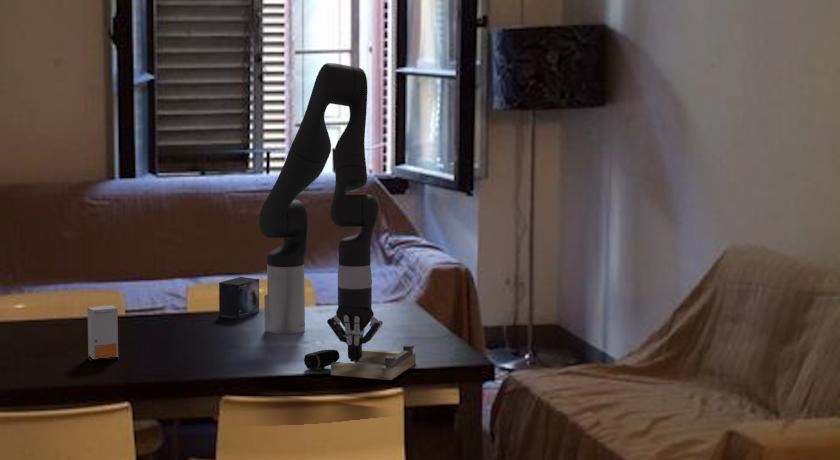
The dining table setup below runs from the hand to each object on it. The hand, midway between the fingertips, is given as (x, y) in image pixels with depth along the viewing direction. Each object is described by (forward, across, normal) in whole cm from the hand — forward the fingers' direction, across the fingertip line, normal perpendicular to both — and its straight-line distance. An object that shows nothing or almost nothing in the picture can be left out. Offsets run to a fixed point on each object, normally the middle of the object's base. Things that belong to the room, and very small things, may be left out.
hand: (355, 360), depth 289 cm
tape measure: (+1, -4, -2) cm, 5 cm away
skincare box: (+2, -58, -11) cm, 59 cm away
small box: (+2, -48, +40) cm, 63 cm away
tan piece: (+2, +4, 0) cm, 4 cm away
